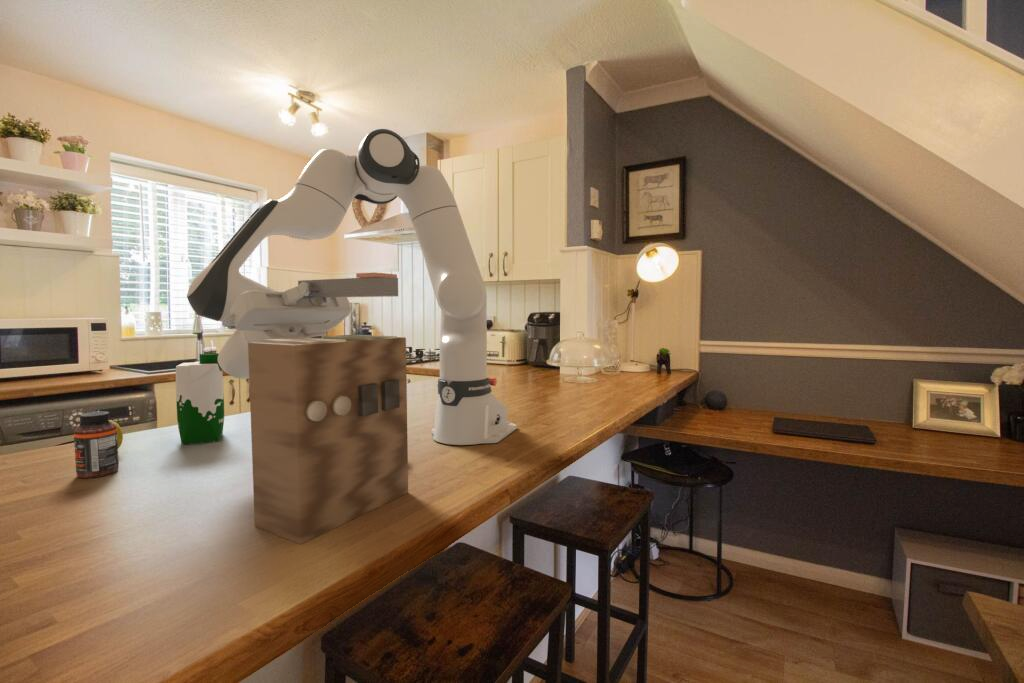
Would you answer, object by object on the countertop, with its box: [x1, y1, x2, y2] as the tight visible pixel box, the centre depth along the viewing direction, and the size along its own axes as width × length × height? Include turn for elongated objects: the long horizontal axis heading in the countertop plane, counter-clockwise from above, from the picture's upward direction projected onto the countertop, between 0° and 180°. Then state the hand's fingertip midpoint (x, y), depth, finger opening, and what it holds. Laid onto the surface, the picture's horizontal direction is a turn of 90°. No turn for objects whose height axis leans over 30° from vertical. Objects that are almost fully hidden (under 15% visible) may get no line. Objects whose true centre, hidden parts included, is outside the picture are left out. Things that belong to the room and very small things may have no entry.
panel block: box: [248, 334, 409, 545], centre depth 71 cm, size 20×11×26 cm, turn 150°
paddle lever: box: [297, 272, 399, 298], centre depth 75 cm, size 4×20×3 cm, turn 60°
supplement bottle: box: [73, 410, 120, 479], centre depth 87 cm, size 6×6×11 cm
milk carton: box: [175, 352, 225, 445], centre depth 109 cm, size 9×9×20 cm
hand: (320, 286), depth 78 cm, fingers closed on paddle lever, 3 cm apart
